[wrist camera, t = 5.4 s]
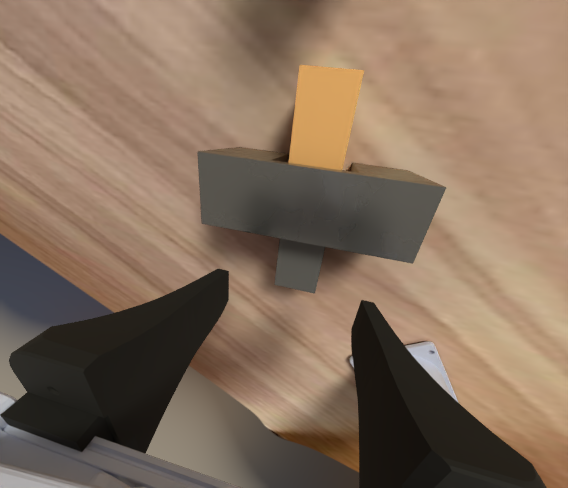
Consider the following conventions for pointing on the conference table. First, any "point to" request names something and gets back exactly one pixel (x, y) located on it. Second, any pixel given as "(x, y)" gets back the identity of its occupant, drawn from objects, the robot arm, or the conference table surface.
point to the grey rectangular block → (318, 202)
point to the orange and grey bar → (317, 154)
